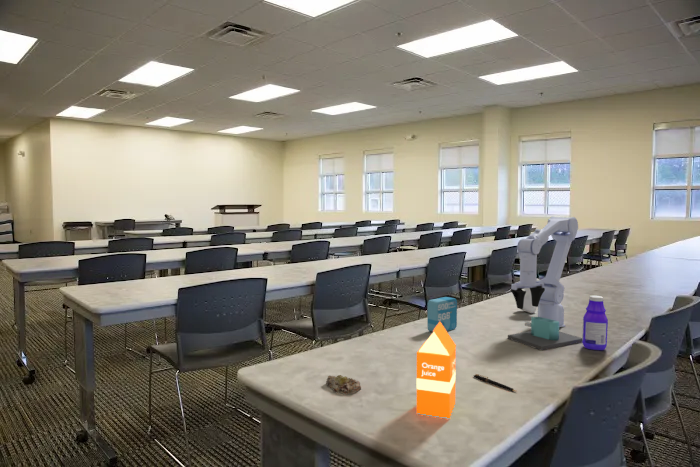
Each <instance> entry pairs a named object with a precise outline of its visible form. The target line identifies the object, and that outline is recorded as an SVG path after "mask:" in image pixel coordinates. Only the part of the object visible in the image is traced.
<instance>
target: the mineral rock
mask: <svg viewBox="0 0 700 467" xmlns="http://www.w3.org/2000/svg"><path fill="white" fill-rule="evenodd" d="M326 385H327V387H328V388H330V389H331V390H333V392H334V393H337V394H342V395H347V394H354V393H357V392H358V391H360V390H362V385H361V382H360V381H359V380H356V379H353V378H350V377H348V376H343V375H341V374H339V375H337V376H334V375H328V376H327V379H326Z"/></svg>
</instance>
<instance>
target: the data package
mask: <svg viewBox="0 0 700 467" xmlns="http://www.w3.org/2000/svg"><path fill="white" fill-rule="evenodd" d="M426 318H427V321H426V322H427V327H426V329H427V330H428V331H429V332H430V333H433V332H434V331H433V330H434V329H435V327H436V326H437V325H438V323H439V322H441V324H442V325H443V327H444V328H445V330H446V331H447V332H449V331H452V330H456V329H457V326H458V300H457V299H456V298H454V297H450V296H444V297H438V298H433V299H429V300H428V301H427V317H426Z"/></svg>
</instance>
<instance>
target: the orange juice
mask: <svg viewBox="0 0 700 467" xmlns="http://www.w3.org/2000/svg"><path fill="white" fill-rule="evenodd" d="M433 331H434V332H431V334H430V335H429V337H428V338H427V339H426V340H425V341H424V342H423V344H421V347H420V348H419V349H418V351H416V414H417V413H420V414H426V415H432V416H439V417H447V418H450V419H451V417H450V416H452V414H451V413H453V411H454V409H453V408H455V406H454V405H456V380H457V379H456V376H457V375H456V372H457V371H456V369H457V368H456V360H457V359H456V355H457V354H456V353H457V352H456V349H457V348H456V347H457V344H456V343H455V342H454V340H453V339H452V337H451V336H450V334H449V333H448V331H446V330H445V328H444V327H443V325H442V324H441V322H439V323H438V325H437V326H436V327H435V329H434V330H433ZM452 410H453V411H452Z"/></svg>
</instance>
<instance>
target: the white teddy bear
mask: <svg viewBox="0 0 700 467" xmlns="http://www.w3.org/2000/svg"><path fill="white" fill-rule="evenodd" d="M539 280H541V279H539V278H537V277H536V281H539ZM524 291H526V294H525V297H524V304H523V309H520V310H521V311H524V312H526V313H529V314H534V313H535V312H536V311H537V309H538V307H535V306H532V296H531V291H530V288H525V289H524Z"/></svg>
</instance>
